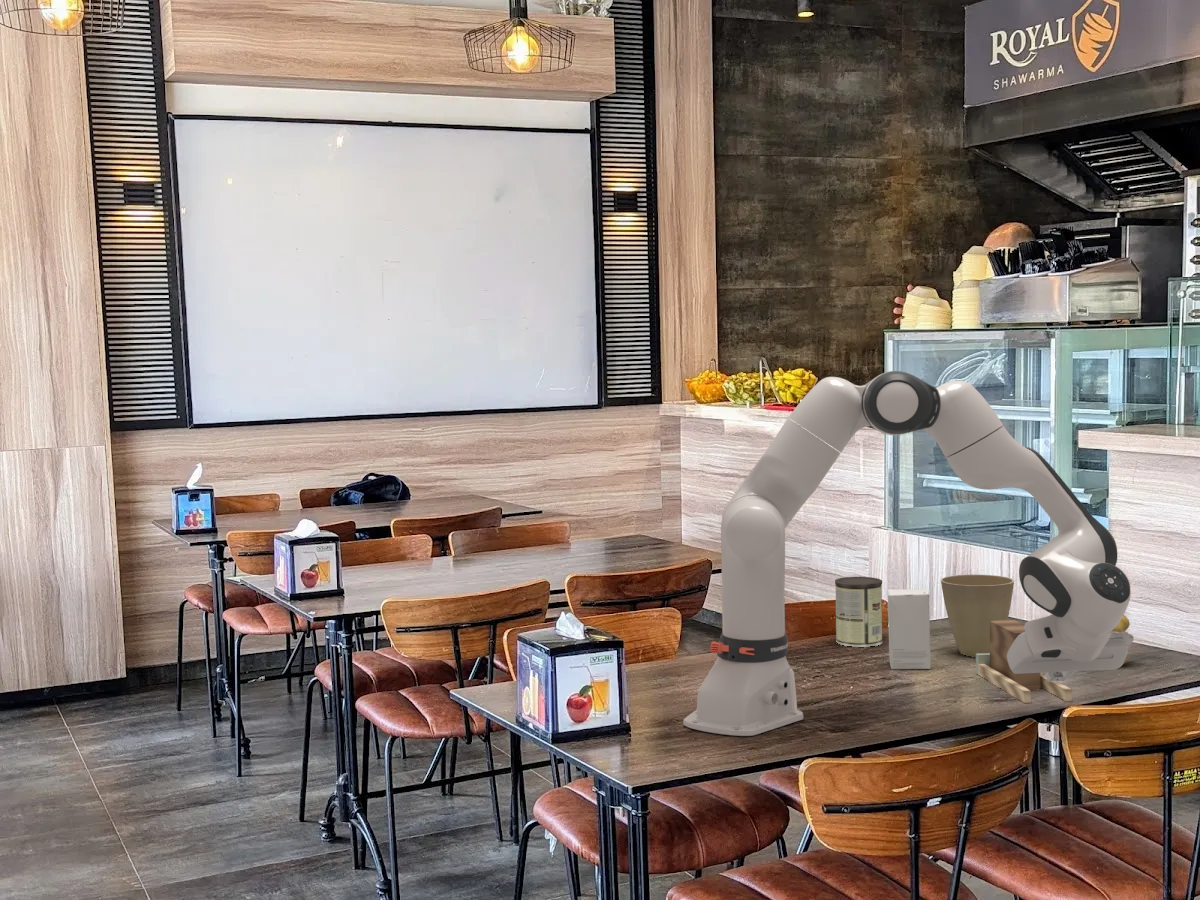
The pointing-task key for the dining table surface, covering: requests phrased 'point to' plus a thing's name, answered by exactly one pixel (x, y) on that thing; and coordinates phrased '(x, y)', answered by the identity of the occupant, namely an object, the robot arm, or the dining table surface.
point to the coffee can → (859, 611)
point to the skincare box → (909, 629)
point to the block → (999, 647)
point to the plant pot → (975, 608)
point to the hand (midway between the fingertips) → (1054, 678)
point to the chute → (1019, 690)
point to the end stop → (982, 660)
